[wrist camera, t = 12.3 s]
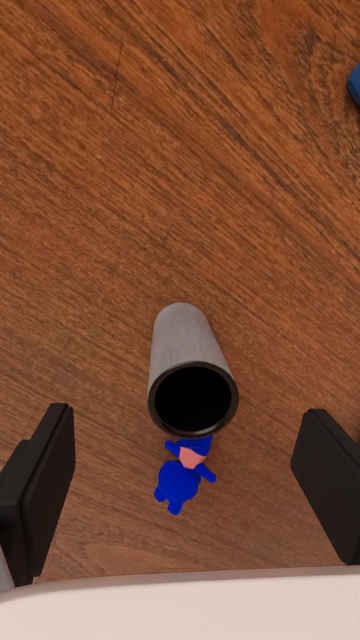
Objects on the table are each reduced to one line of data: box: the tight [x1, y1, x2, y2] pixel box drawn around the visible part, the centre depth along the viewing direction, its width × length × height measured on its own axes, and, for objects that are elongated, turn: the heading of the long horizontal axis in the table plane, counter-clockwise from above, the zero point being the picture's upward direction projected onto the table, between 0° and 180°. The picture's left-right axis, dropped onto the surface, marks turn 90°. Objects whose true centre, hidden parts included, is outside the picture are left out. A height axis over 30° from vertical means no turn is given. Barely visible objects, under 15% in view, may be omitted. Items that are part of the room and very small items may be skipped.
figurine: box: [154, 435, 216, 515], centre depth 25 cm, size 5×8×5 cm, turn 163°
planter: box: [147, 303, 239, 439], centre depth 18 cm, size 4×4×10 cm
